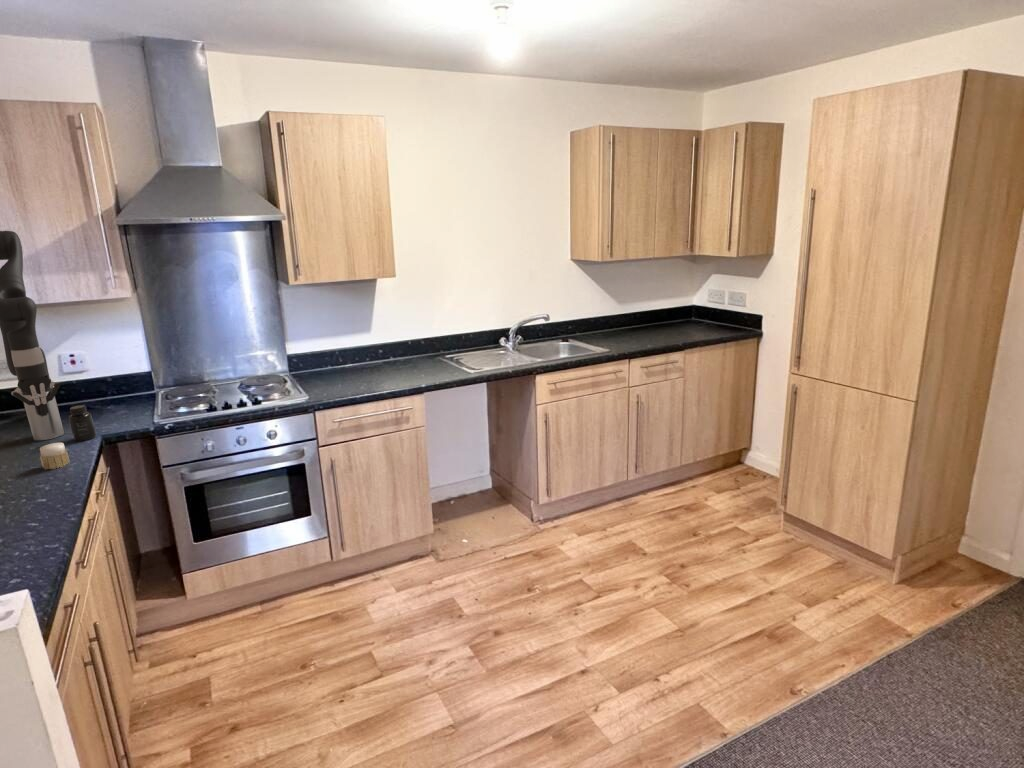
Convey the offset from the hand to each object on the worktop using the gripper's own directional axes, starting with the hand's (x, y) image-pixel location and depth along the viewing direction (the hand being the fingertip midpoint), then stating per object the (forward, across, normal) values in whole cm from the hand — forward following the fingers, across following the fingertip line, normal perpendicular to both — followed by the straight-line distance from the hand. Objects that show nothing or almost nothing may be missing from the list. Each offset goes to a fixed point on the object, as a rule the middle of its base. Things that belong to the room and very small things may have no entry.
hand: (43, 415), depth 195 cm
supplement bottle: (+17, -15, -21) cm, 31 cm away
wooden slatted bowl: (+17, 0, 0) cm, 17 cm away
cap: (+16, 0, 0) cm, 16 cm away
